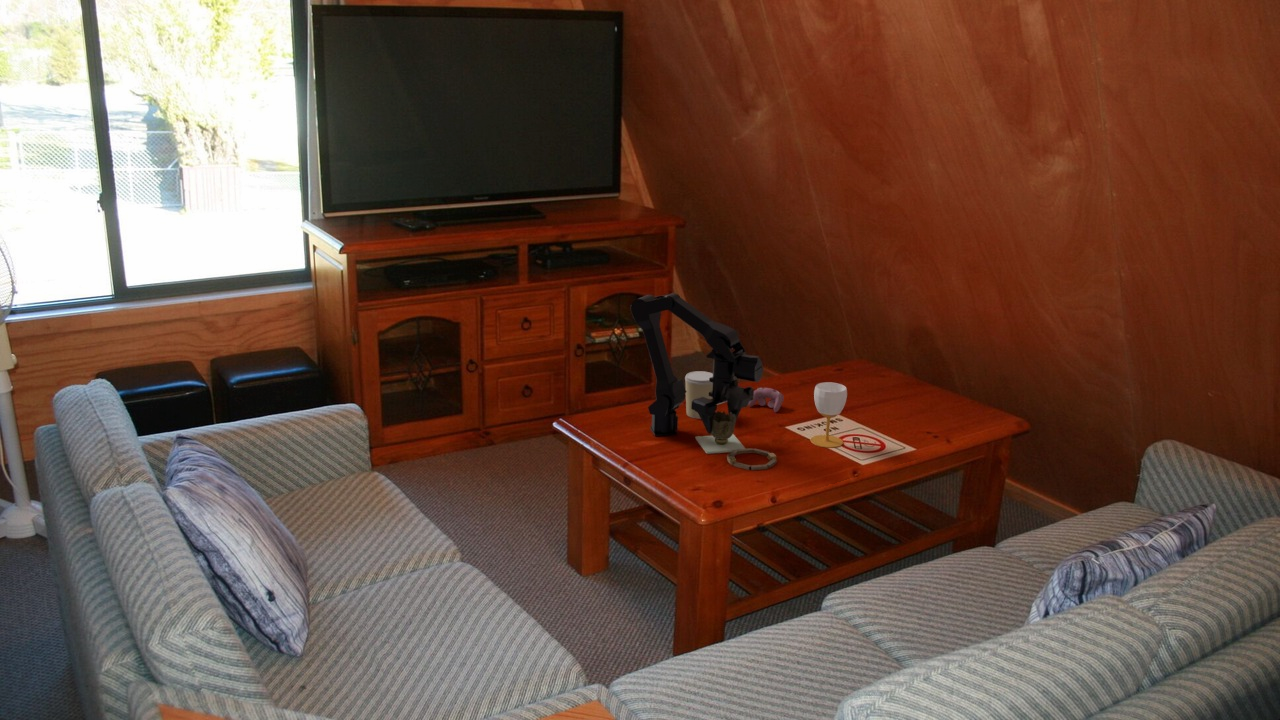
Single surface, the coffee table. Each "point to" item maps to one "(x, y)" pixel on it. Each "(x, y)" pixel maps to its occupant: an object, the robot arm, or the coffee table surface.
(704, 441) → the felt pad
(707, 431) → the robot arm
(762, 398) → the video game controller
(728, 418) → the cup
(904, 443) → the coffee table surface
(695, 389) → the coffee cup
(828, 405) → the cup
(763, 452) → the ring
